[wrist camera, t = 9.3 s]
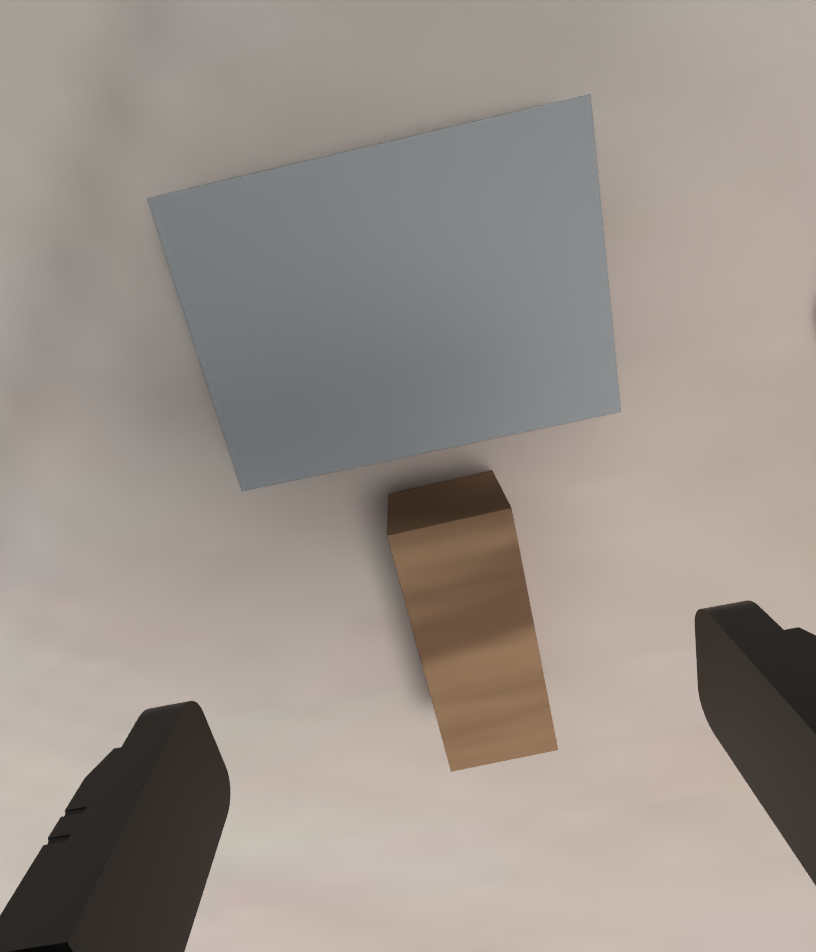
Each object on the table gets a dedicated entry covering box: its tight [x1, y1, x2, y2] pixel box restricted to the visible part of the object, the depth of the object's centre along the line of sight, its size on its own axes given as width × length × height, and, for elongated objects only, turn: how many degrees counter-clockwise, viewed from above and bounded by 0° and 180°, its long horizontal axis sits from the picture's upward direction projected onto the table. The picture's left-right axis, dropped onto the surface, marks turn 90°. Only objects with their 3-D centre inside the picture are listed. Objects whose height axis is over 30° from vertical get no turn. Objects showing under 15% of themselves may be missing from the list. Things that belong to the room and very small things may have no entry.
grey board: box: [147, 94, 621, 491], centre depth 21 cm, size 10×14×3 cm
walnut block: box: [387, 471, 558, 771], centre depth 25 cm, size 4×4×11 cm
